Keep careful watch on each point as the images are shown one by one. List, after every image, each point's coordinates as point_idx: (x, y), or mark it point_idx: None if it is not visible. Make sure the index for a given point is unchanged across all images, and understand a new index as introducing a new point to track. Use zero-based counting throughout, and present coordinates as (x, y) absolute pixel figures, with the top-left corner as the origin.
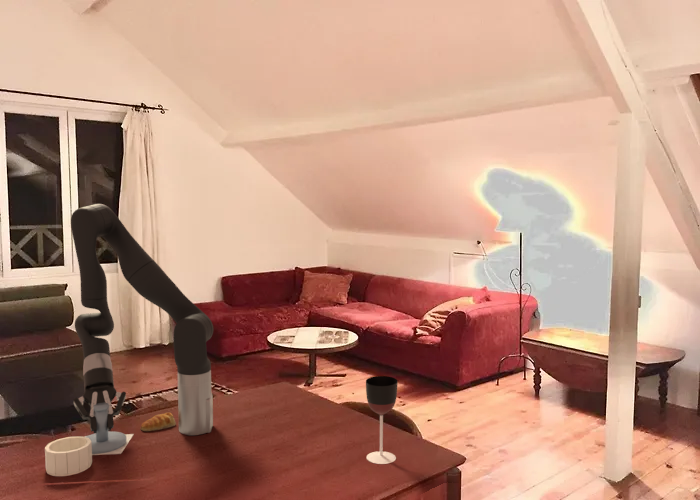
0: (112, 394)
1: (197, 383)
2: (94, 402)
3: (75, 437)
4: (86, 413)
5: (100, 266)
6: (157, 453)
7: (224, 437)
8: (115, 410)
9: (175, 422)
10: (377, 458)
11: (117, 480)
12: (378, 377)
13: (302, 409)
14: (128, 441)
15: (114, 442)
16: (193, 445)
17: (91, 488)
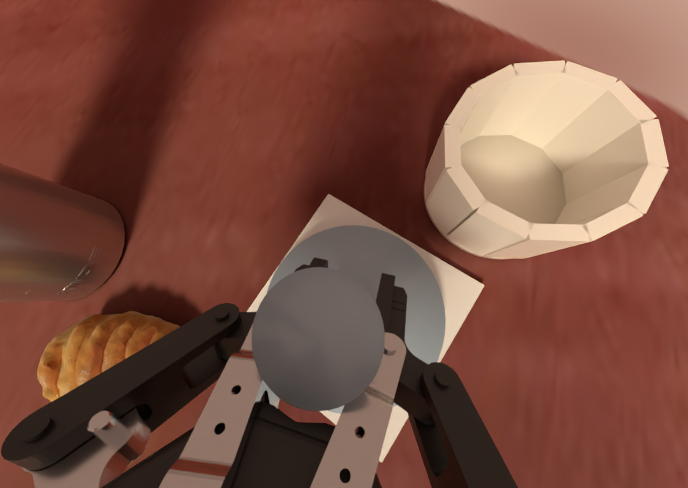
0: (125, 485)
1: None
2: (350, 442)
3: (503, 211)
4: (429, 374)
5: None
6: (245, 148)
7: (71, 146)
8: (239, 315)
9: (82, 320)
10: None
11: (391, 51)
12: None
13: None
14: (271, 278)
15: (322, 258)
16: (152, 143)
17: (459, 41)
